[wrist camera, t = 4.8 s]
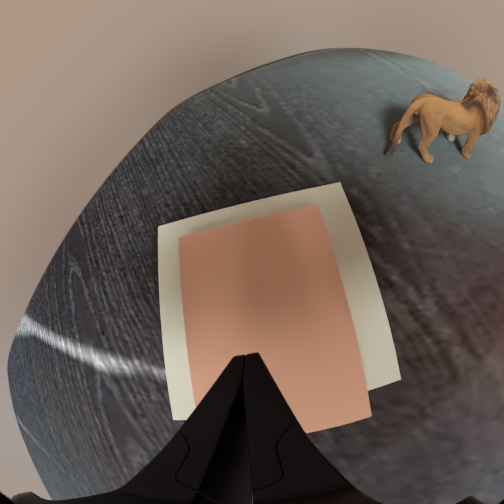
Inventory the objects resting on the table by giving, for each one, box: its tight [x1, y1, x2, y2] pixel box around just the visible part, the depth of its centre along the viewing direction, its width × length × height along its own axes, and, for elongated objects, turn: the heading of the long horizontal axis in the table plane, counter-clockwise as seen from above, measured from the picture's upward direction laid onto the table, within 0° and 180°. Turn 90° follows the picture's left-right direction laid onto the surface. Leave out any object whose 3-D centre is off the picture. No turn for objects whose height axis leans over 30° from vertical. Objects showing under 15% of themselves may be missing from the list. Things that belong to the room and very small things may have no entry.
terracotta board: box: [178, 204, 372, 433], centre depth 17 cm, size 2×10×14 cm
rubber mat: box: [158, 182, 401, 420], centre depth 19 cm, size 16×16×1 cm
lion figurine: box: [386, 78, 501, 164], centre depth 18 cm, size 15×5×9 cm, turn 106°
